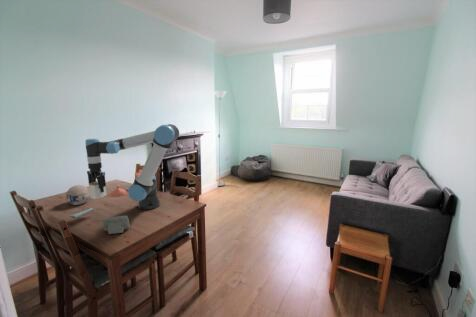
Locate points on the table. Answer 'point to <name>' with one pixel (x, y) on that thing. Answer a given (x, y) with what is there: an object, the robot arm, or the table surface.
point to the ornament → (78, 195)
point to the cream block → (95, 190)
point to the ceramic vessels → (121, 192)
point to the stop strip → (82, 212)
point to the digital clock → (116, 224)
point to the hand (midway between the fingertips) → (98, 196)
